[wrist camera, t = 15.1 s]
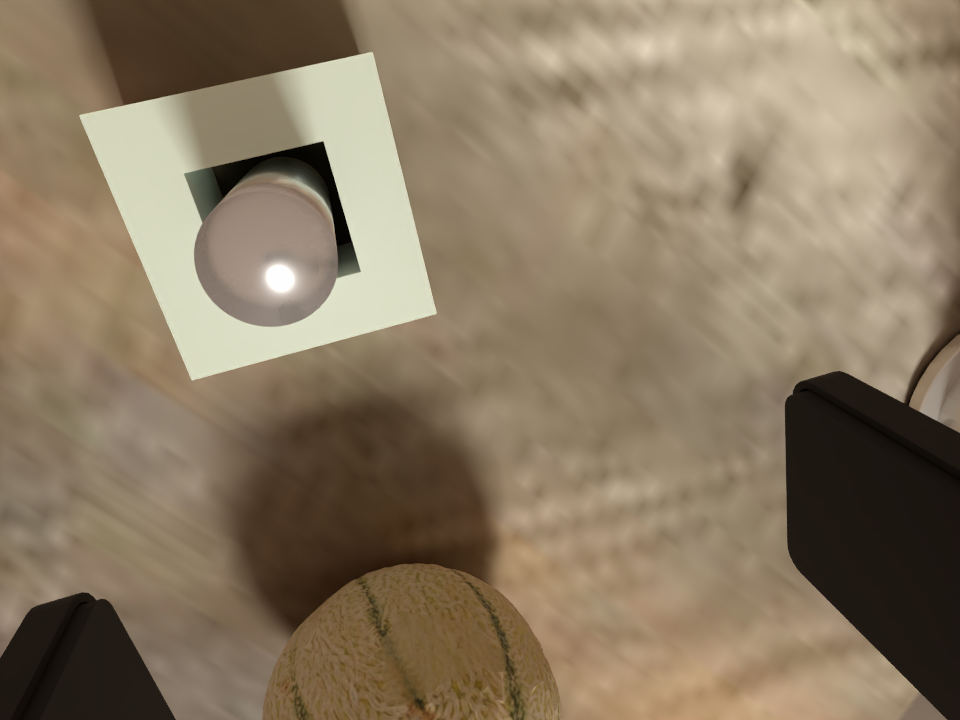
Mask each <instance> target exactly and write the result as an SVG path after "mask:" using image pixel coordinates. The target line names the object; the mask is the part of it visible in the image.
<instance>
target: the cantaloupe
mask: <svg viewBox="0 0 960 720" xmlns="http://www.w3.org/2000/svg"><path fill="white" fill-rule="evenodd" d="M263 720H563V714H562V709H561V703H560V697H559V692H558V688H557V685H556V681H555V679H554V676H553V674H552V671H551V668H550V666H549V663H548V661H547V659H546V657H545V656H544V654H543V650H542V648H541V645H540V643H539V641H538V640H537V638H536V636H535V635H534V633H533V632H532V630H531V628H530V627H529V625H528V623H527V622H526V621H525V619H524V618H523V617H522V616H521V614H520V613H519V612H518V611H517V609H516V608H515V607H514V605H513V604H512V603H511V602H510V601H509V600H508V599H507V598H505V597H504V596H503V595H502V594H501V593H500V592H499V591H498V590H497V589H495V588H493V587H491V586H490V585H488V584H487V583H485V582H483V581H482V580H480V579H478V578H476V577H474V576H472V575H470V574H468V573H466V572H462V571H459V570H455V569H449V568H444V567H442V566H439V565H435V564H419V563H417V564H400V565H396V566H393V567H384V568H382V569H380V570H377V571H373V572H369V573H366V574H365V575H363V576H362V577H360V578H358V579H355V580H352V581H351V582H349V583H348V584H346V585H345V586H343V587H342V588H341V589H339V590H338V591H337V592H336V593H334V594H333V595H332V596H331V597H330V598H328V599H327V600H326V601H325V602H324V603H323V604H322V605H321V606H320V607H319V608H317V609H316V610H315V611H314V612H313V613H312V614H311V615H310V616H309V617H308V618H307V619H306V620H305V621H304V622H303V623H302V624H301V625H300V626H299V627H298V628H297V629H296V631H295V632H294V633H293V634H292V636H291V638H290V639H289V641H288V643H287V644H286V646H285V648H284V650H283V652H282V653H281V655H280V657H279V659H278V661H277V663H276V665H275V667H274V670H273V673H272V676H271V678H270V681H269V685H268V688H267V691H266V695H265V700H264V707H263Z"/></svg>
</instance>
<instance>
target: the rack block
mask: <svg viewBox="0 0 960 720" xmlns="http://www.w3.org/2000/svg"><path fill="white" fill-rule="evenodd" d="M79 116H80V119H81V121H82V123H83V126H84V128H85V131H86V133H87V135H88V138H89V140H90V142H91V145H92V147H93V149H94V152H95V154H96V156H97V159H98V161H99V163H100V166H101V168H102V170H103V173H104V175H105V178H106V180H107V182H108V185H109V187H110V189H111V192H112V194H113V196H114V199H115V201H116V203H117V206H118V208H119V210H120V213H121V215H122V217H123V220H124V222H125V224H126V227H127V229H128V232H129V234H130V236H131V239H132V241H133V243H134V246H135V248H136V250H137V253H138V255H139V257H140V260H141V262H142V264H143V267H144V269H145V271H146V274H147V276H148V279H149V281H150V283H151V286H152V288H153V290H154V293H155V295H156V297H157V300H158V302H159V304H160V307H161V309H162V311H163V314H164V316H165V318H166V321H167V323H168V325H169V328H170V330H171V333H172V335H173V337H174V340H175V342H176V344H177V347H178V349H179V351H180V354H181V356H182V358H183V361H184V363H185V365H186V368H187V370H188V372H189V375H190V377H191V380H195V379H199V378H203V377H206V376H210V375H214V374H217V373H221V372H225V371H229V370H232V369H236V368H240V367H243V366H247V365H251V364H254V363H258V362H262V361H265V360H269V359H273V358H276V357H280V356H284V355H287V354H291V353H295V352H298V351H302V350H306V349H309V348H313V347H317V346H321V345H324V344H328V343H332V342H335V341H339V340H343V339H346V338H350V337H354V336H357V335H361V334H365V333H368V332H372V331H376V330H379V329H383V328H387V327H390V326H394V325H398V324H401V323H405V322H409V321H413V320H416V319H420V318H424V317H427V316H431V315H435V314H437V313H436V309H435V305H434V301H433V297H432V293H431V289H430V285H429V280H428V276H427V272H426V268H425V264H424V260H423V256H422V252H421V248H420V244H419V240H418V236H417V231H416V227H415V223H414V219H413V215H412V211H411V207H410V203H409V199H408V195H407V191H406V186H405V182H404V178H403V174H402V170H401V166H400V162H399V158H398V154H397V150H396V146H395V142H394V137H393V133H392V129H391V125H390V121H389V117H388V113H387V109H386V105H385V101H384V97H383V92H382V88H381V84H380V80H379V76H378V72H377V68H376V64H375V60H374V56H373V52H370V53H365V54H360V55H356V56H351V57H347V58H342V59H337V60H333V61H328V62H323V63H319V64H314V65H309V66H305V67H300V68H296V69H291V70H286V71H282V72H277V73H272V74H268V75H263V76H259V77H254V78H249V79H245V80H240V81H235V82H231V83H226V84H222V85H217V86H212V87H208V88H203V89H198V90H194V91H189V92H184V93H180V94H175V95H171V96H166V97H161V98H157V99H152V100H147V101H143V102H138V103H134V104H129V105H124V106H120V107H115V108H110V109H106V110H101V111H96V112H92V113H87V114H83V115H79ZM322 141H324V145H325V148H326V152H327V155H328V159H329V162H330V166H331V169H332V172H333V176H334V179H335V183H336V186H337V190H338V193H339V197H340V200H341V204H342V207H343V211H344V214H345V218H346V221H347V225H348V228H349V232H350V235H351V239H352V242H351V243H347V244H343V245H339V246H337V253H338V273H337V278H336V281H335V284H334V287H333V289H332V291H331V293H330V295H329V297H328V298H327V300H326V301H325V302H324V303H323V304H322V306H321V307H320V308H319V309H317V310H316V311H315V312H314V313H313V314H311V315H310V316H308V317H307V318H305V319H303V320H301V321H298V322H296V323H293V324H290V325H285V326H278V327H262V326H256V325H252V324H248V323H245V322H242V321H240V320H237V319H235V318H234V317H232V316H230V315H228V314H227V313H225V312H224V311H223V310H221V309H220V308H219V307H218V306H217V305H216V304H215V303H214V302H213V301H212V300H211V299H210V298H209V296H208V295H207V294H206V292H205V291H204V289H203V288H202V285H201V283H200V281H199V279H198V276H197V273H196V269H195V263H194V247H195V241H196V237H197V234H198V231H199V229H200V227H201V225H202V223H203V222H204V220H205V218H206V217H207V216H208V215H209V214H210V213H211V211H212V210H213V209H214V208H215V207H216V206H217V205H218V204H219V203H220V202H221V201H222V200H223V197H222V194H221V191H220V188H219V186H218V183H217V180H216V177H215V175H214V172H213V169H212V167H214V166H218V165H222V164H227V163H231V162H235V161H240V160H244V159H248V158H253V157H257V156H261V155H266V154H270V153H274V152H279V151H283V150H287V149H292V148H296V147H300V146H305V145H309V144H313V143H317V142H322Z"/></svg>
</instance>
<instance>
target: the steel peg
mask: <svg viewBox="0 0 960 720" xmlns="http://www.w3.org/2000/svg"><path fill="white" fill-rule="evenodd" d="M194 263H195V269H196V273H197V276H198V279H199V281H200V283H201V285H202V288H203V289H204V291H205V292H206V294H207V295H208V296H209V298H210V299H211V300H212V301H213V302H214V303H215V304H216V305H217V306H218V307H219V308H220V309H221V310H223V311H224V312H225V313H227V314H228V315H230V316H232V317H234V318H235V319H237V320H240V321H242V322H245V323H248V324H252V325H256V326H262V327H278V326H285V325H290V324H293V323H296V322H298V321H301V320H303V319H305V318H307V317H308V316H310V315H311V314H313V313H314V312H315V311H316V310H317V309H319V308H320V307H321V306H322V304H323V303H324V302H325V301H326V300H327V298H328V297H329V295H330V293H331V291H332V289H333V287H334V284H335V281H336V278H337V273H338V253H337V245H336V238H335V230H334V222H333V215H332V207H331V199H330V194H329V191H328V188H327V186H326V184H325V182H324V180H323V179H322V177H321V176H320V175H319V173H318V172H317V171H316V170H315V169H313V168H312V167H311V166H309V165H308V164H306V163H305V162H303V161H300V160H298V159H295V158H290V157H273V158H269V159H266V160H264V161H262V162H260V163H258V164H257V165H255V166H254V167H253V168H252V169H251V170H250V171H249V172H248V173H247V174H246V175H245V176H244V177H243V178H242V179H241V180H240V181H239V182H238V184H237V185H236V186H235V187H234V188H233V189H232V190H231V191H230V192H229V193H228V194H227V195H226V196H225V197H224V199H223V200H222V201H221V202H220V203H219V204H218V205H217V206H216V207H215V208H214V209H213V210H212V211H211V213H210V214H209V215H208V216H207V217H206V218H205V220H204V222H203V223H202V225H201V227H200V229H199V231H198V234H197V237H196V241H195V247H194Z"/></svg>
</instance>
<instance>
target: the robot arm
mask: <svg viewBox="0 0 960 720" xmlns="http://www.w3.org/2000/svg"><path fill="white" fill-rule="evenodd" d="M785 436H786V489H787V542H788V551H789V554H790V557H791V559H792V561H793V563H794V565H795V566H796V568H797V569H798V570H799V571H800V573H801V574H802V575H803V576H804V577H805V578H806V579H807V580H808V581H809V582H810V583H811V584H812V585H813V586H814V587H815V588H816V589H817V590H818V591H819V592H820V593H821V594H822V595H823V596H824V597H825V598H826V599H827V600H828V601H829V602H830V603H831V604H832V605H833V606H834V607H835V608H836V609H837V610H838V611H839V612H840V613H841V614H842V615H843V616H844V617H845V618H846V619H847V620H848V621H849V622H850V623H851V624H852V625H853V626H854V627H855V628H856V629H857V630H858V631H859V632H860V633H861V634H862V635H863V636H864V637H865V638H866V639H867V640H868V641H869V642H870V643H871V644H872V645H873V646H874V647H875V648H876V649H877V650H878V651H879V652H880V653H881V654H882V655H883V656H884V657H885V658H886V659H887V660H888V661H889V662H890V663H891V664H892V665H893V666H894V667H895V668H896V669H897V670H898V671H899V672H900V673H901V674H902V675H903V676H904V677H905V678H906V679H907V680H908V681H909V682H910V683H911V684H912V685H913V686H914V687H915V688H916V689H917V690H918V691H919V692H920V693H921V694H922V695H923V696H924V697H925V698H926V699H927V700H928V701H929V702H930V703H931V704H932V705H933V706H934V707H935V708H936V709H937V710H938V711H939V712H940V713H941V714H942V715H943V716H944V717H945V718H946V719H947V720H960V334H959V335H957V336H956V337H955V338H954V339H953V340H952V341H950V342H949V343H948V344H947V345H946V346H945V347H944V348H943V349H942V350H941V351H940V352H939V354H938V355H937V356H936V357H935V358H934V360H933V361H932V362H931V363H930V364H929V366H928V367H927V369H926V371H925V372H924V374H923V375H922V377H921V378H920V380H919V382H918V384H917V386H916V388H915V391H914V393H913V395H912V397H911V400H910V404H909V406H908V405H906V404H904V403H902V402H900V401H898V400H896V399H894V398H893V397H891V396H889V395H887V394H885V393H883V392H881V391H879V390H877V389H875V388H873V387H872V386H870V385H868V384H866V383H864V382H862V381H860V380H858V379H856V378H854V377H852V376H851V375H849V374H847V373H844V372H841V371H837V372H832V373H828V374H825V375H821V376H818V377H815V378H811V379H808V380H804V381H801V382H799V383H798V384H797V385H796V386H795V388H794V390H793V395H790V396H789V397H788V398H787V400H786V402H785ZM0 720H176V719H175V718H174V716H173V714H172V712H171V710H170V709H169V707H168V705H167V703H166V701H165V700H164V698H163V696H162V694H161V692H160V691H159V689H158V687H157V685H156V683H155V682H154V680H153V678H152V676H151V674H150V673H149V671H148V669H147V667H146V665H145V664H144V662H143V660H142V658H141V656H140V655H139V653H138V651H137V649H136V647H135V646H134V644H133V642H132V640H131V638H130V637H129V635H128V633H127V631H126V629H125V628H124V626H123V624H122V622H121V620H120V619H119V617H118V615H117V613H116V611H115V610H114V608H113V606H112V605H111V604H110V602H108V601H107V600H106V599H100V600H96V599H95V598H94V597H93V596H92V595H90V594H89V593H83V592H82V593H79V594H75V595H72V596H68V597H65V598H62V599H58V600H55V601H51V602H48V603H45V604H41V605H38V606H36V607H34V608H32V609H31V610H30V611H29V612H28V614H27V615H26V616H25V618H24V620H23V621H22V623H21V625H20V626H19V628H18V630H17V631H16V633H15V635H14V636H13V638H12V640H11V641H10V643H9V645H8V646H7V648H6V650H5V651H4V653H3V655H2V656H1V658H0Z"/></svg>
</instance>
